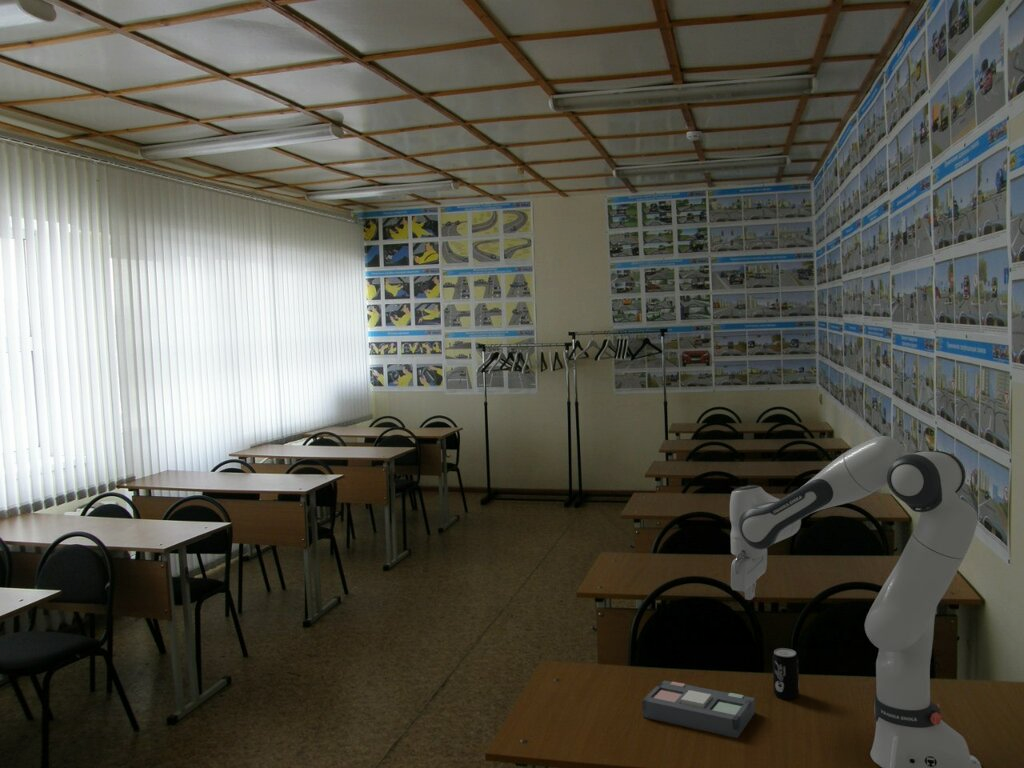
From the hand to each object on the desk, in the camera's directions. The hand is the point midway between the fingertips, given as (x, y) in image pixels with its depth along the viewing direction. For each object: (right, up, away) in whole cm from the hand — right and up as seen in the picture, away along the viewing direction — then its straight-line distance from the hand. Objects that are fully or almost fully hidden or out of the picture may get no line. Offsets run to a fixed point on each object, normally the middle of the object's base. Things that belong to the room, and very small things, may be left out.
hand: (749, 598), depth 217 cm
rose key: (-22, -28, +1) cm, 36 cm away
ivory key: (-15, -27, -3) cm, 31 cm away
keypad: (-14, -30, -2) cm, 33 cm away
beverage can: (+12, -28, +7) cm, 32 cm away
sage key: (-8, -28, -8) cm, 30 cm away
